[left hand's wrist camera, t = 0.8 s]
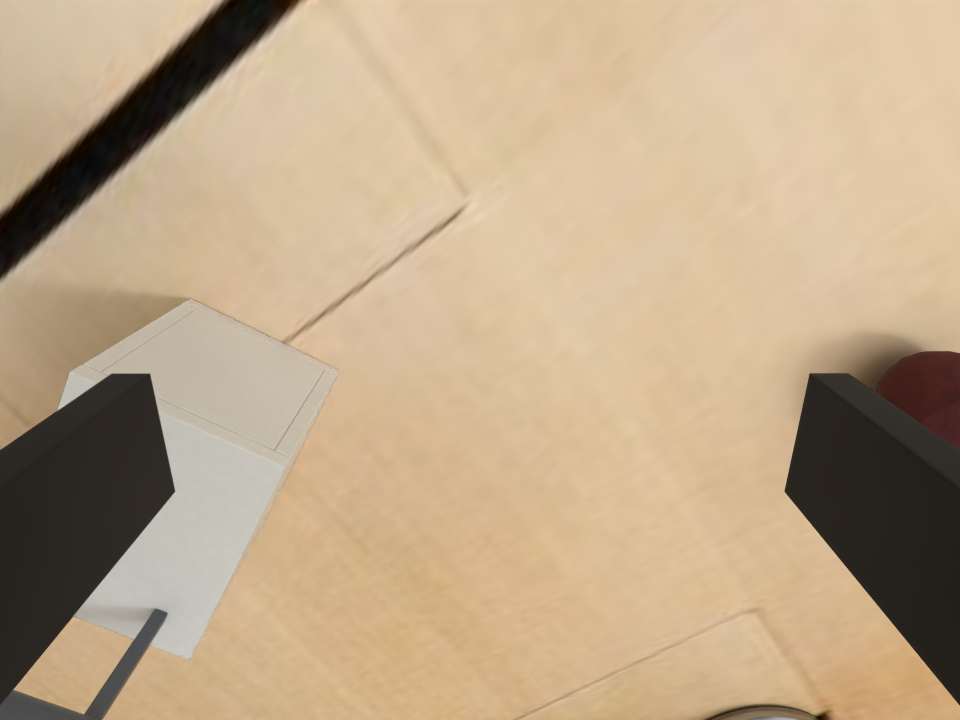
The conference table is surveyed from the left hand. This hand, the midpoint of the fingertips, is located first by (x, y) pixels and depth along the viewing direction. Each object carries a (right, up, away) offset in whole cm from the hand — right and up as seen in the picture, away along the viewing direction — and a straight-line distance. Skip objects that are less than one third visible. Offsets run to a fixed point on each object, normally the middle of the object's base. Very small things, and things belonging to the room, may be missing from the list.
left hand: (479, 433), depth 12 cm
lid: (-17, -6, +18) cm, 25 cm away
